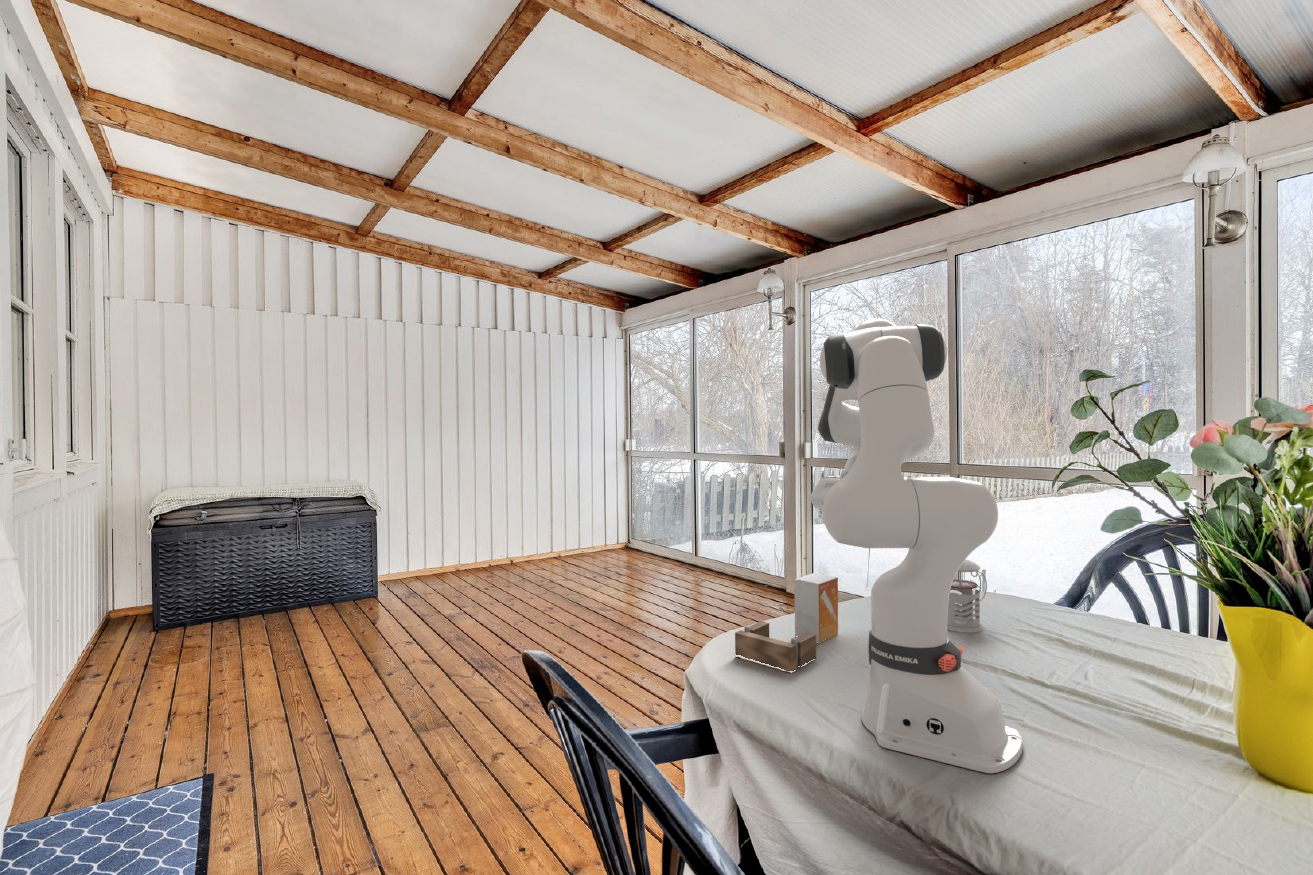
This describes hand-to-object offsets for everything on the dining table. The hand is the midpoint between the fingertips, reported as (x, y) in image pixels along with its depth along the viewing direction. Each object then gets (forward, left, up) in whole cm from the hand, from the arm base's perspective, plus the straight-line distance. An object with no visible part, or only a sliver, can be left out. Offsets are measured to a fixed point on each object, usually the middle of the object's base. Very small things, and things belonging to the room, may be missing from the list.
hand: (841, 523), depth 149 cm
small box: (0, +12, -24) cm, 27 cm away
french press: (-22, -16, -24) cm, 36 cm away
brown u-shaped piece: (0, +29, -23) cm, 37 cm away
